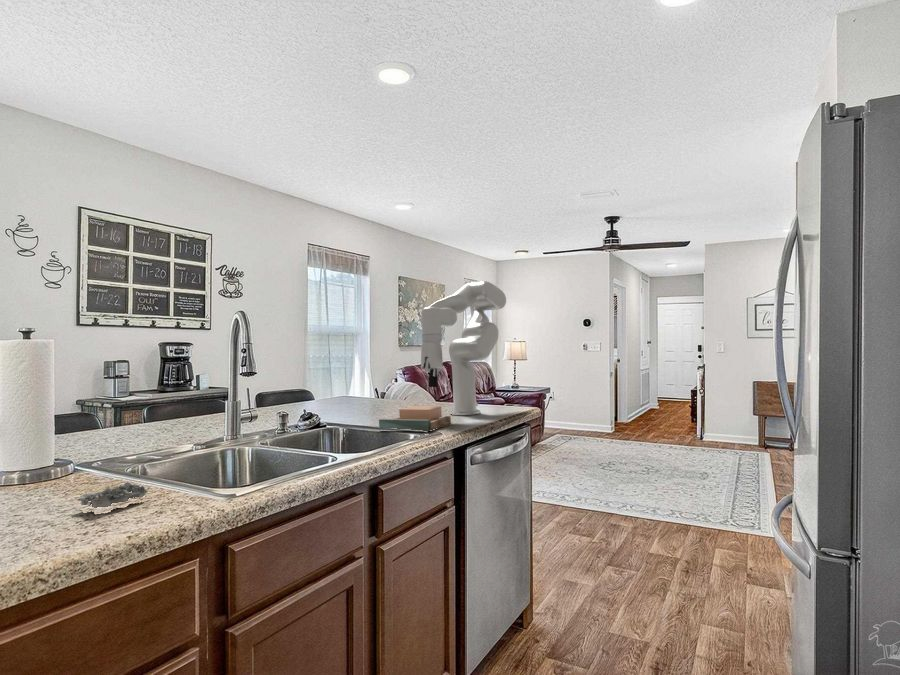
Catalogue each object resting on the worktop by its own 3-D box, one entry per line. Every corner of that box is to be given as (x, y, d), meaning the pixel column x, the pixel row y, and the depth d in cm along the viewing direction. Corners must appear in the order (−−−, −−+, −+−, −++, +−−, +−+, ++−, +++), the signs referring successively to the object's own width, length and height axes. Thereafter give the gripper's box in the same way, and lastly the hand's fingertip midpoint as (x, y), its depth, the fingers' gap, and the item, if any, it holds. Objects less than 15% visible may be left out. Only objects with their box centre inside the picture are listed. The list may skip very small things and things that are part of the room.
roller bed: (405, 423, 207) (405, 412, 207) (451, 424, 199) (450, 413, 199) (378, 431, 190) (378, 419, 190) (427, 432, 182) (427, 420, 182)
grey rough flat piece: (97, 518, 101) (96, 496, 101) (74, 513, 104) (74, 492, 104) (152, 502, 110) (151, 481, 110) (130, 498, 114) (129, 478, 114)
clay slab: (413, 416, 205) (412, 406, 205) (441, 417, 200) (441, 406, 200) (399, 420, 196) (399, 409, 196) (429, 421, 191) (428, 409, 191)
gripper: (432, 340, 218) (433, 385, 217) (414, 339, 204) (415, 388, 204) (449, 339, 215) (450, 385, 214) (432, 338, 201) (433, 388, 200)
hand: (433, 386), depth 209 cm, fingers closed
